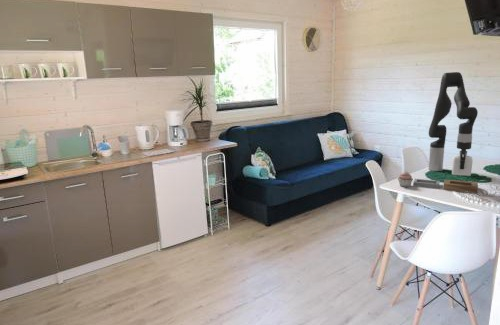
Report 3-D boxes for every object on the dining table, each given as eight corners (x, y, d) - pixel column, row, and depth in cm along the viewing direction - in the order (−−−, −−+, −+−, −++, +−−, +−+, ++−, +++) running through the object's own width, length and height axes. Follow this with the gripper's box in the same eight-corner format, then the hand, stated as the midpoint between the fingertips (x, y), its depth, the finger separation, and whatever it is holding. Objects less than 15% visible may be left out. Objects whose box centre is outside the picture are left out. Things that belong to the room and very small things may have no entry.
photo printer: (470, 174, 220) (472, 154, 218) (471, 176, 217) (473, 156, 214) (451, 173, 225) (453, 154, 222) (452, 175, 221) (453, 155, 218)
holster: (414, 182, 240) (415, 178, 239) (439, 184, 232) (439, 180, 232) (413, 185, 233) (413, 182, 232) (438, 188, 225) (438, 184, 225)
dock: (444, 184, 232) (444, 179, 231) (477, 187, 223) (477, 182, 222) (443, 189, 223) (443, 184, 222) (477, 193, 214) (477, 187, 213)
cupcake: (399, 182, 240) (400, 168, 238) (414, 184, 234) (415, 170, 232) (395, 186, 233) (395, 171, 231) (410, 188, 227) (411, 173, 225)
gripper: (457, 138, 223) (455, 164, 227) (456, 142, 212) (454, 170, 216) (471, 138, 220) (469, 165, 224) (471, 143, 208) (468, 171, 212)
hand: (461, 168), depth 220 cm, fingers closed on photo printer, 4 cm apart
